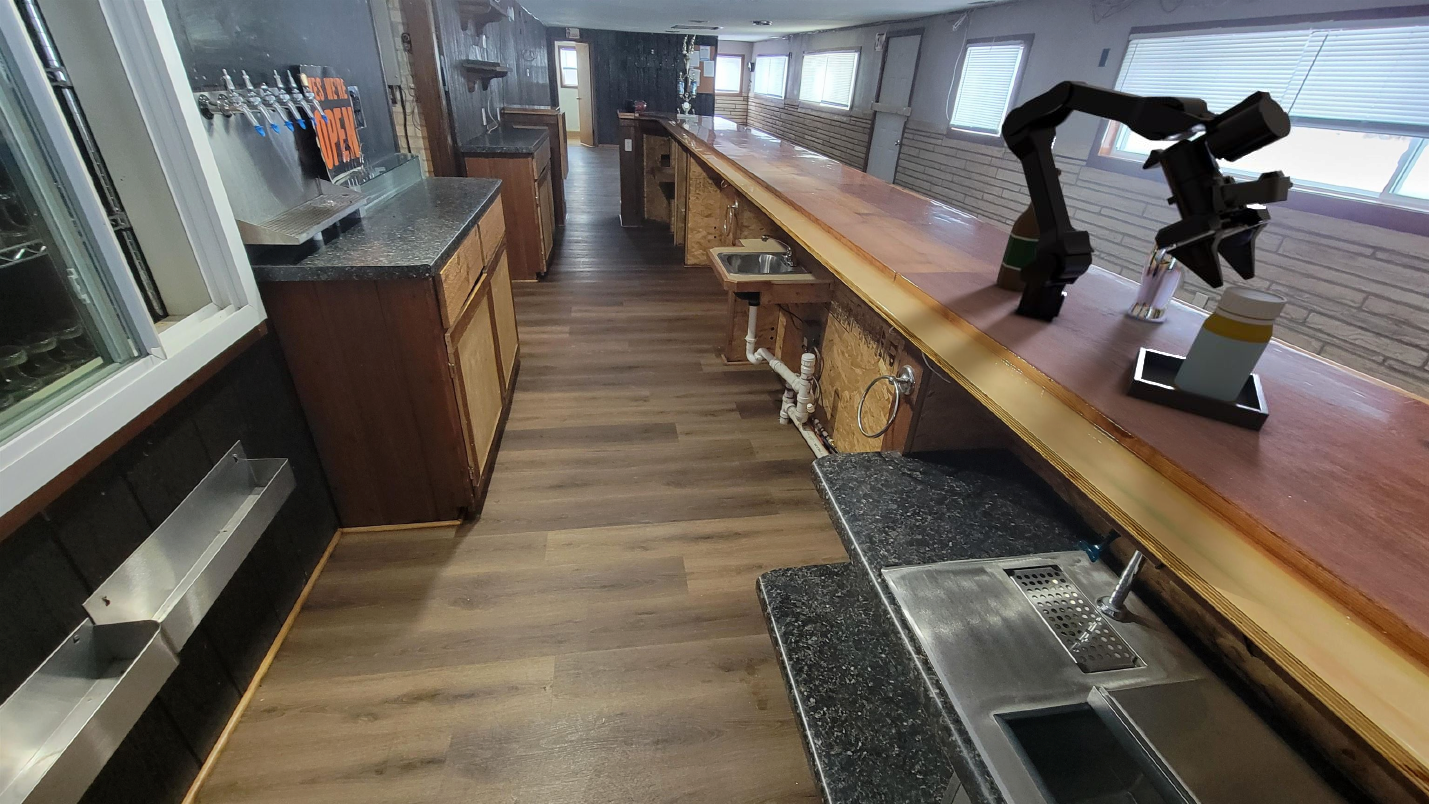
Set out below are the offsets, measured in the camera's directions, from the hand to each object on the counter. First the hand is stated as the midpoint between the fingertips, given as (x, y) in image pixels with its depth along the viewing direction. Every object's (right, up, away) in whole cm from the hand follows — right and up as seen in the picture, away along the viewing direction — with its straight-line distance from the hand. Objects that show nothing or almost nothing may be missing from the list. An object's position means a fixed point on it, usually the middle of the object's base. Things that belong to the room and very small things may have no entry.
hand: (1234, 283), depth 79 cm
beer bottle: (-8, +8, +43) cm, 45 cm away
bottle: (-5, -16, 0) cm, 17 cm away
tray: (-5, -15, +2) cm, 16 cm away
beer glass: (+10, 0, +29) cm, 31 cm away
